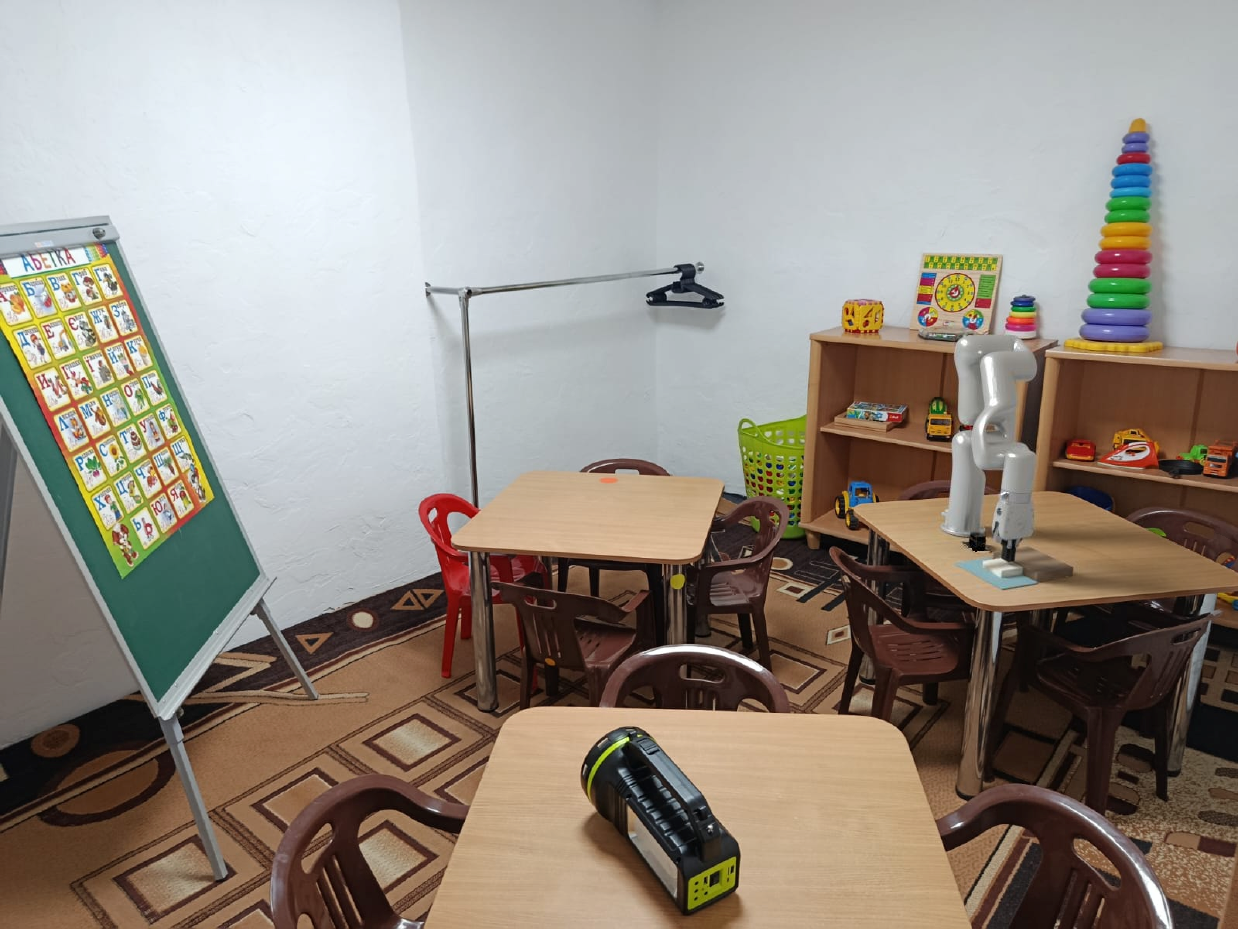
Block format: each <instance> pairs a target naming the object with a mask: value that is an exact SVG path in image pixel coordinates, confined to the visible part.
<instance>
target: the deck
mask: <svg viewBox="0 0 1238 929" xmlns="http://www.w3.org/2000/svg"><path fill="white" fill-rule="evenodd" d="M1001 554H1002V549H1001V550H995V551H993V554H992V559H999V558H1001ZM1014 563H1016V564H1018V565H1020V566H1022V567H1023V572H1022V575H1024V576H1026V577H1028V578H1030V579H1032V580H1034V581H1036V582H1038V583H1039V582H1044V581H1049V580H1050V581H1051V580H1055V578H1057V579H1062V577H1063V578H1067V577H1066V576H1069V577H1072V576H1073V573H1074V572H1073V571H1074V566H1072V565H1069V564H1067V563H1066V562H1063V561H1061V560H1059V559H1056V558H1054V557H1052V556H1049V555H1048V554H1046V553H1044V552H1041V551H1040V550H1037V549H1034V548H1033V547H1030V546H1029V545H1028V546H1019V547H1017V548H1016V553H1015V561H1014ZM1071 575H1072V576H1071Z"/></svg>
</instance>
